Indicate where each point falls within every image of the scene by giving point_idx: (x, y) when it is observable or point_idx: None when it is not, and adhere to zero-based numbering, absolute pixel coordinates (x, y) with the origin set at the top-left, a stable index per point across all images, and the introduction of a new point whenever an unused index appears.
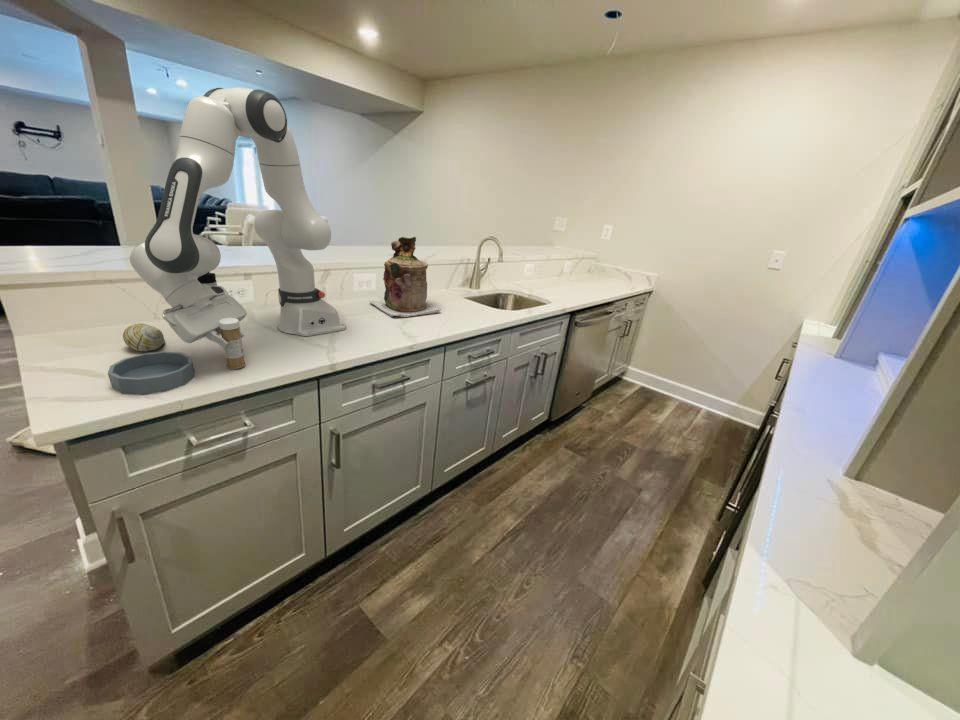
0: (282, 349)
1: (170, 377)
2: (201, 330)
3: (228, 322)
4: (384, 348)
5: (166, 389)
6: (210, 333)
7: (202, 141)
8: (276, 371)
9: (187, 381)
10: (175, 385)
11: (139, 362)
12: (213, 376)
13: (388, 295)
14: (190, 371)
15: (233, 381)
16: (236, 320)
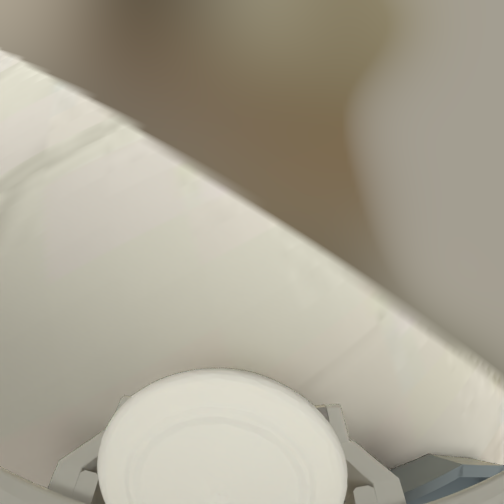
0: (31, 317)
1: (480, 463)
2: (500, 495)
3: (304, 444)
4: (39, 80)
5: (470, 458)
6: (403, 502)
7: None
8: (228, 233)
9: (415, 461)
10: (453, 457)
11: None
12: (347, 429)
13: None
14: (403, 479)
15: (361, 331)
16: (179, 399)
